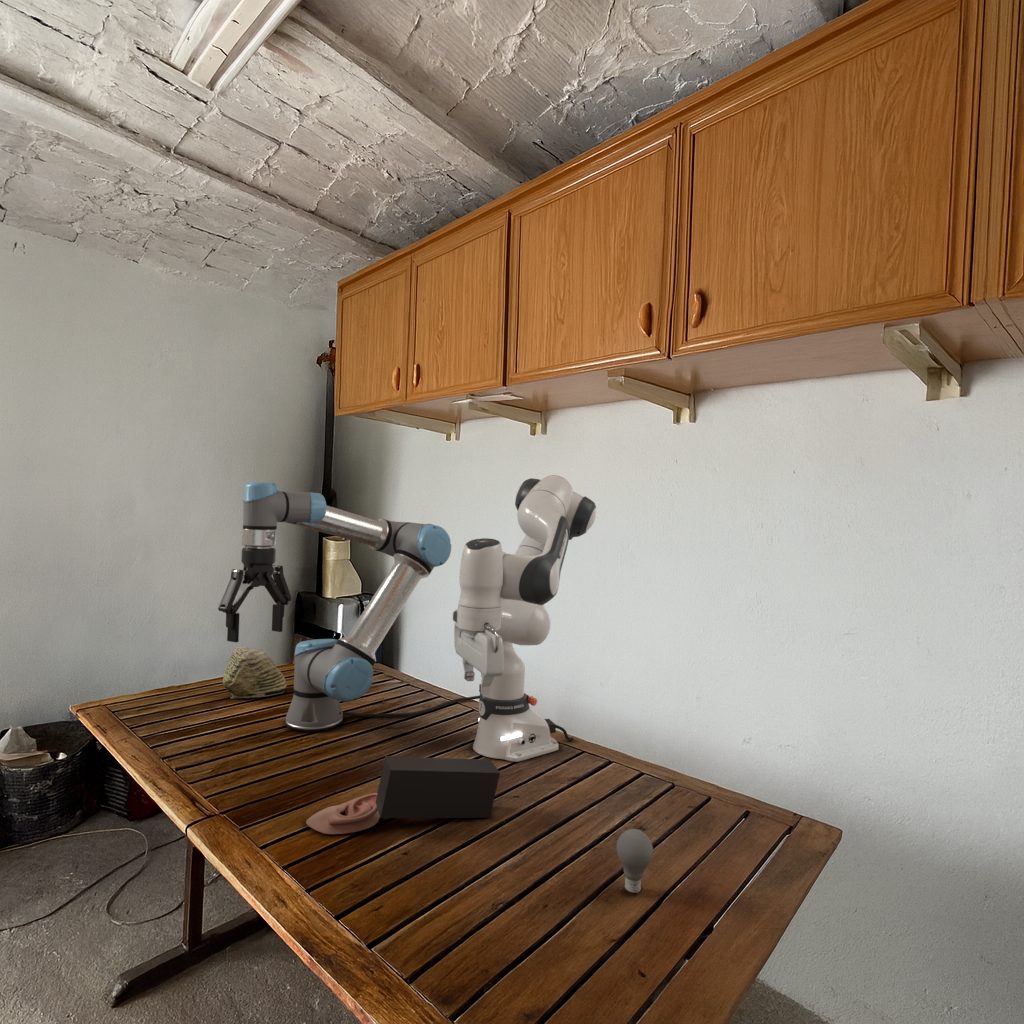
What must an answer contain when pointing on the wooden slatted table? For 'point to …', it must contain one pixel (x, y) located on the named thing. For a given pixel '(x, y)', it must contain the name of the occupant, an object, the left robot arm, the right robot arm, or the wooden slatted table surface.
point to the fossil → (252, 674)
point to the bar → (436, 788)
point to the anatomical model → (346, 816)
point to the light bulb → (634, 857)
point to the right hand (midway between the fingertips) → (476, 686)
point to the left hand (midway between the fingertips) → (255, 636)
